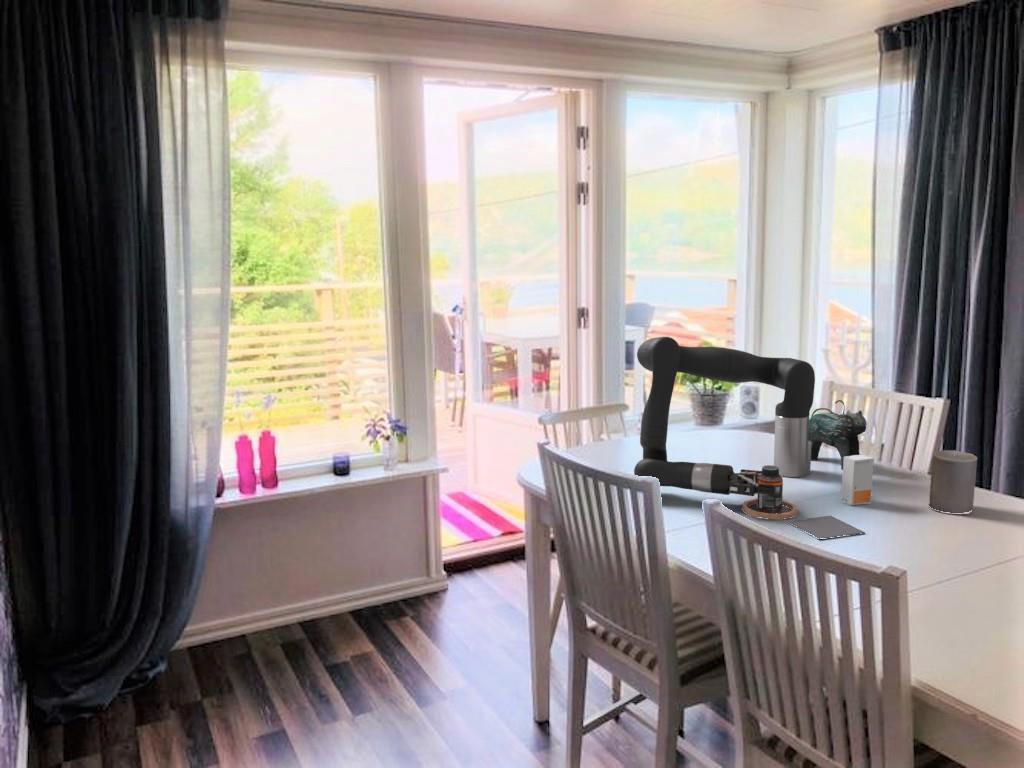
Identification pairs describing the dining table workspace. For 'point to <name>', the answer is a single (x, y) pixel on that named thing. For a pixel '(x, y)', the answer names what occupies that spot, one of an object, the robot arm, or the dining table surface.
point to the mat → (825, 527)
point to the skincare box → (857, 479)
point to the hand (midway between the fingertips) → (778, 485)
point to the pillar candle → (952, 481)
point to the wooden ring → (768, 515)
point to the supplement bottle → (767, 501)
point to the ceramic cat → (836, 432)
